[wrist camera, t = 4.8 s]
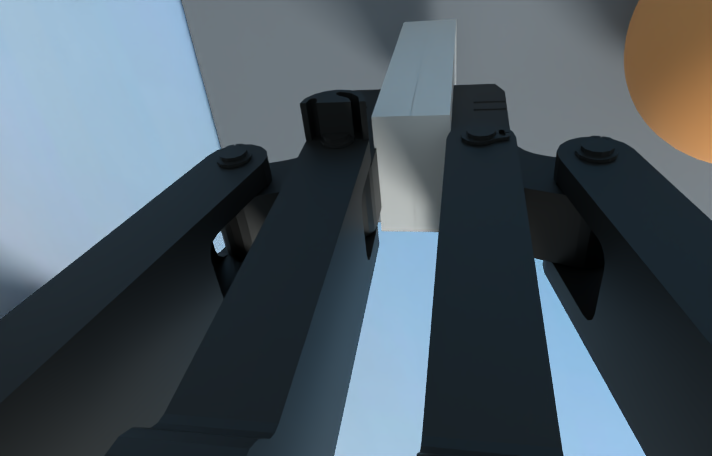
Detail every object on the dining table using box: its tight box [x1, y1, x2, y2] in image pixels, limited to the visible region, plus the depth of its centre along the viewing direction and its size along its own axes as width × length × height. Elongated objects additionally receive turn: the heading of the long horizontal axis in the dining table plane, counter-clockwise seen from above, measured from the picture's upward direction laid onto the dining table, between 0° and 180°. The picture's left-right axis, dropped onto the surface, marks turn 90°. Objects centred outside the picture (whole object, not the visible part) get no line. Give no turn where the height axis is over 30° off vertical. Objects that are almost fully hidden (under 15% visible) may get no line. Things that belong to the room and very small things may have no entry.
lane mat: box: [181, 0, 712, 222], centre depth 16 cm, size 24×13×1 cm, turn 96°
